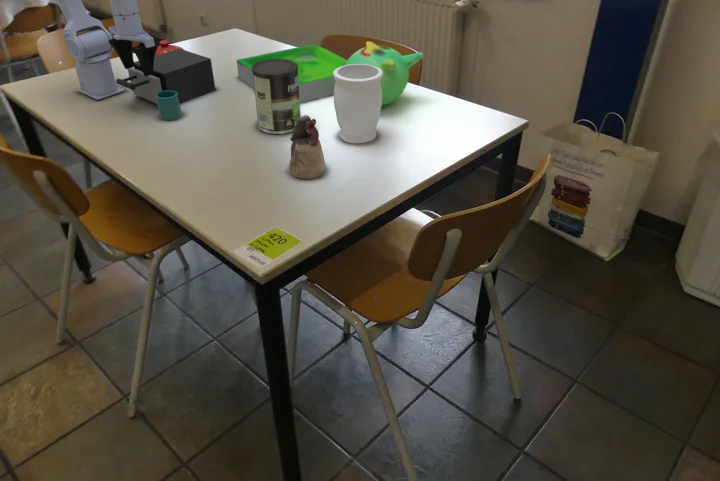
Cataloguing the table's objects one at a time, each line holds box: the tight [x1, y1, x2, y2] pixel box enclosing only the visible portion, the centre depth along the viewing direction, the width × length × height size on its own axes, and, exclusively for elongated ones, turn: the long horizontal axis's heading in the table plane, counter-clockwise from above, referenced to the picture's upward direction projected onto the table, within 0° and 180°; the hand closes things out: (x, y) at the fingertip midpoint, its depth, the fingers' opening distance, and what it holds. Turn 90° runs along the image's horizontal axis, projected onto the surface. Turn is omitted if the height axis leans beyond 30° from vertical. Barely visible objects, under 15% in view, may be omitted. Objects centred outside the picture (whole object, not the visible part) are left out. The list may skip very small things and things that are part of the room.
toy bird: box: [345, 40, 424, 107], centre depth 140 cm, size 18×17×15 cm
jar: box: [333, 64, 383, 144], centre depth 125 cm, size 11×10×15 cm
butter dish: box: [155, 39, 185, 56], centre depth 160 cm, size 12×12×8 cm
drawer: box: [115, 67, 166, 105], centre depth 144 cm, size 19×12×7 cm, turn 142°
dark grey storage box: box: [133, 48, 216, 104], centre depth 147 cm, size 14×13×8 cm
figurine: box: [289, 114, 326, 180], centre depth 113 cm, size 7×7×12 cm
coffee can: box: [251, 59, 302, 135], centre depth 130 cm, size 10×10×14 cm
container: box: [156, 90, 182, 121], centre depth 136 cm, size 5×5×6 cm
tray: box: [236, 43, 348, 104], centre depth 154 cm, size 25×25×5 cm
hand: (139, 71), depth 136 cm, fingers open, 7 cm apart
